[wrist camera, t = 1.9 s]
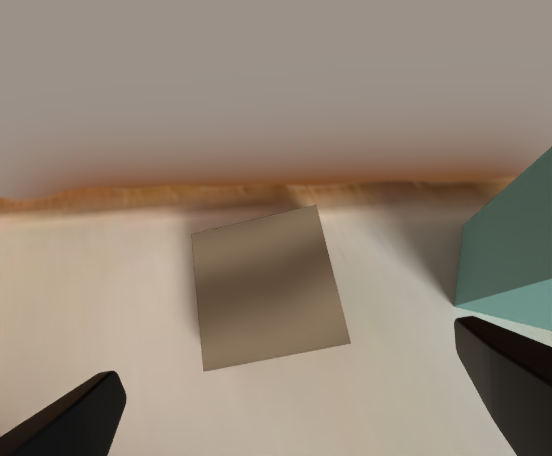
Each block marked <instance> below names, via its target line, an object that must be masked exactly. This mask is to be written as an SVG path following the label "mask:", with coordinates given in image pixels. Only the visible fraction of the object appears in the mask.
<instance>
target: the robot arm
mask: <svg viewBox="0 0 552 456" xmlns="http://www.w3.org/2000/svg"><path fill="white" fill-rule="evenodd" d="M454 329H455V342H456V350H457V353H458V356H459V358H460V360H461V362H462V364H463V365H464V367H465V369H466V371H467V373H468V375H469V377H470V378H471V380H472V382H473V384H474V386H475V388H476V390H477V391H478V393H479V395H480V397H481V399H482V401H483V402H484V404H485V406H486V408H487V410H488V412H489V413H490V415H491V417H492V419H493V420H494V422H495V423H496V425H497V426H498V428H499V429H500V431H501V432H502V434H503V435H504V437H505V438H506V440H507V441H508V443H509V444H510V446H511V447H512V449H513V450H514V452H515V453H516V455H517V456H552V347H550V346H548V345H545V344H543V343H540V342H538V341H535V340H533V339H530V338H528V337H525V336H523V335H520V334H518V333H515V332H513V331H510V330H507V329H505V328H502V327H500V326H497V325H495V324H492V323H490V322H487V321H485V320H482V319H480V318H477V317H474V316H467V317H461V318H457V319H456V320H455V322H454ZM125 405H126V393H125V390H124V388H123V385H122V383H121V381H120V378H119V376H118V374H117V373H116V372H115V371H107V372H101V373H98V374H96V375H95V376H93V377H92V378H90V379H89V380H87V381H86V382H84V383H83V384H81V385H80V386H78V387H76V388H75V389H73V390H72V391H70V392H69V393H67V394H66V395H64V396H63V397H61V398H60V399H58V400H56V401H55V402H53V403H52V404H50V405H49V406H47V407H46V408H44V409H43V410H41V411H40V412H38V413H36V414H35V415H33V416H32V417H30V418H29V419H27V420H26V421H24V422H23V423H21V424H20V425H18V426H16V427H15V428H13V429H12V430H10V431H9V432H7V433H6V434H4V435H3V436H1V437H0V456H107V455H108V453H109V450H110V447H111V444H112V441H113V439H114V436H115V433H116V430H117V427H118V425H119V422H120V419H121V416H122V413H123V410H124V408H125Z"/></svg>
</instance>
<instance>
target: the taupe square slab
mask: <svg viewBox="0 0 552 456" xmlns="http://www.w3.org/2000/svg"><path fill="white" fill-rule="evenodd" d="M191 236H192V247H193V258H194V270H195V281H196V292H197V304H198V315H199V326H200V338H201V349H202V360H203V372H204V371H210V370H215V369H220V368H225V367H230V366H236V365H241V364H246V363H251V362H256V361H262V360H267V359H272V358H277V357H282V356H288V355H293V354H298V353H303V352H309V351H314V350H319V349H324V348H329V347H335V346H340V345H345V344H350V343H351V342H350V338H349V334H348V330H347V326H346V322H345V318H344V314H343V310H342V306H341V302H340V298H339V294H338V290H337V286H336V282H335V278H334V274H333V270H332V266H331V262H330V258H329V254H328V250H327V246H326V242H325V238H324V234H323V230H322V226H321V222H320V218H319V214H318V210H317V206H316V205H313V206H309V207H305V208H301V209H296V210H292V211H288V212H284V213H279V214H275V215H271V216H267V217H263V218H258V219H254V220H250V221H246V222H242V223H237V224H233V225H229V226H225V227H221V228H216V229H212V230H208V231H204V232H200V233H195V234H191Z"/></svg>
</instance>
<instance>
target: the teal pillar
mask: <svg viewBox="0 0 552 456" xmlns="http://www.w3.org/2000/svg"><path fill="white" fill-rule="evenodd" d="M454 307H458V308H462V309H466V310H470V311H474V312H478V313H482V314H486V315H490V316H494V317H498V318H502V319H506V320H510V321H514V322H518V323H522V324H526V325H530V326H534V327H538V328H542V329H546V330H550V331H552V147H551V148H550V149H549V150H548V151H546V152H545V153H544V154H543V155H542V156H541V157H540V158H539V159H537V160H536V161H535V162H534V163H533V164H532V165H531V166H530V167H528V168H527V169H526V170H525V171H524V172H523V173H522V174H520V175H519V176H518V177H517V178H516V179H515V180H514V181H513V182H511V183H510V184H509V185H508V186H507V187H506V188H505V189H504V190H503V191H501V192H500V193H499V194H498V195H497V196H496V197H495V198H494V199H492V200H491V201H490V202H489V203H488V204H487V205H486V206H485V207H483V208H482V209H481V210H480V211H479V212H478V213H477V214H476V215H474V216H473V217H472V218H471V219H470V220H469V221H468V222H467V223H465V224H464V228H463V236H462V244H461V253H460V261H459V269H458V277H457V286H456V294H455V302H454Z"/></svg>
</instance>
